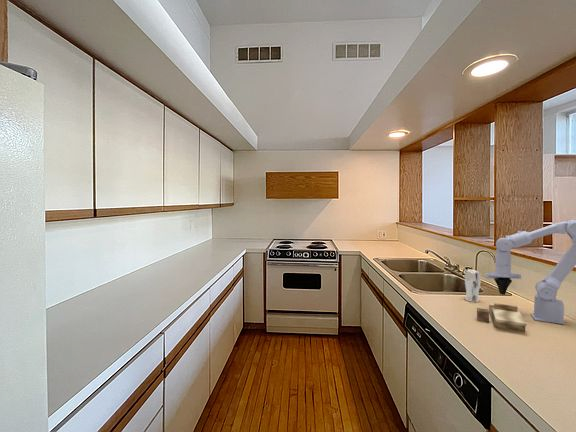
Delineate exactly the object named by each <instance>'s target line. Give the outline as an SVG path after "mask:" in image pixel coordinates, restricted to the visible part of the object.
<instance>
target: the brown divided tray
mask: <svg viewBox="0 0 576 432" xmlns="http://www.w3.org/2000/svg"><path fill="white" fill-rule="evenodd" d="M492 307H493V308H494V304H489V305H488V311H489V317H490V318H491V322H492V325H493V327H494V328H499V329H504V330H510V331H515V332H516V331H517V332H522V333H526V326H521V325H514V324H508V323H501V322H496V320H495V317H494V315H493V312H492Z"/></svg>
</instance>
